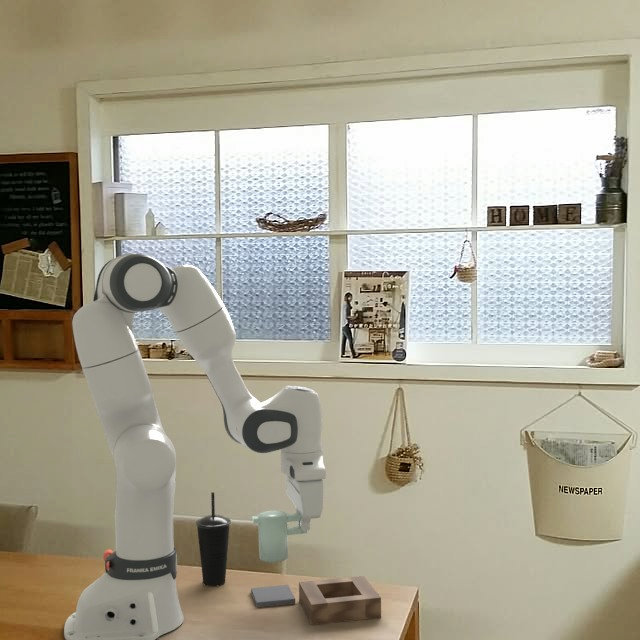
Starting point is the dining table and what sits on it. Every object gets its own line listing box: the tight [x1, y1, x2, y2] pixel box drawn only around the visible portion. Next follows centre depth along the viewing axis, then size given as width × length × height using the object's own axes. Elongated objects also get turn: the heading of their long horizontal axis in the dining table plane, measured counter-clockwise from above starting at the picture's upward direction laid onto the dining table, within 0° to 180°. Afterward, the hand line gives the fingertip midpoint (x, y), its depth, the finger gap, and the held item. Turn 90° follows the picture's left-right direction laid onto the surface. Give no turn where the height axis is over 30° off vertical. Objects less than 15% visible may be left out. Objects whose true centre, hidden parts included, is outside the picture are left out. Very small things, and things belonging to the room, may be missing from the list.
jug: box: [251, 510, 308, 563], centre depth 173 cm, size 11×6×9 cm, turn 103°
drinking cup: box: [195, 492, 232, 587], centre depth 182 cm, size 8×8×20 cm
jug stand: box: [298, 575, 382, 626], centre depth 167 cm, size 14×12×4 cm
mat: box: [250, 584, 296, 608], centre depth 173 cm, size 8×8×1 cm
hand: (303, 527), depth 174 cm, fingers closed on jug
